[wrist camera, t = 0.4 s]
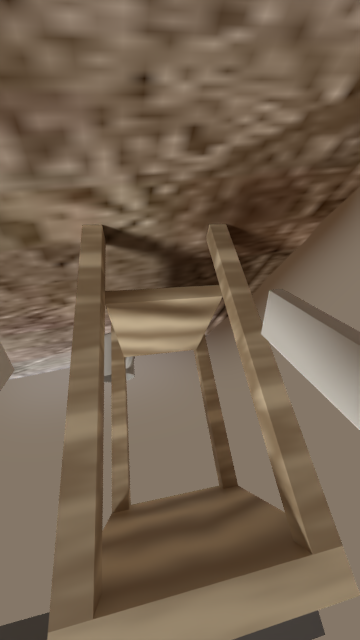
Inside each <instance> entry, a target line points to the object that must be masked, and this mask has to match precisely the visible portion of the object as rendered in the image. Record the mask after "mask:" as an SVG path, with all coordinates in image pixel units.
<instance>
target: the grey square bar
mask: <svg viewBox="0 0 360 640" xmlns="http://www.w3.org/2000/svg"><path fill="white" fill-rule="evenodd" d="M49 613H50V612H49ZM49 613H45V614H42V615H38V616H35V617H31V618H28V619H24V620H20V621H17V622H13V623H10V624H6V625H3V626H0V640H47V637H48V625H49ZM323 635H325V633H324V629H323V626H322V622H321V619H320V616H319V612H318V610H317V611H314V612H311V613H308V614H305V615H302V616H300V617H297V618H294V619H291V620H288V621H285V622H282V623H279V624H276V625H273V626H271V627H268V628H265V629H262V630H259V631H256V632H253V633H250V634H247V635H244V636H241V637H239V638H236V639H233V640H312V639H315V638H317V637H320V636H323Z"/></svg>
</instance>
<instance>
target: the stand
mask: <svg viewBox="0 0 360 640" xmlns="http://www.w3.org/2000/svg"><path fill="white" fill-rule="evenodd" d="M206 240H207V243H208V247H209V250H210V254H211V257H212V261H213V264H214V268H215V271H216V275H217V278H218V281H219V285H209V286H191V287H173V288H156V289H138V290H120V291H105V248H106V240H105V235H104V231H103V227H102V225H82V234H81V246H80V258H79V269H78V281H77V293H76V305H75V317H74V329H73V341H72V352H71V364H70V376H69V389H68V400H67V412H66V424H65V436H64V447H63V460H62V472H61V484H60V495H59V507H58V518H57V530H56V542H55V554H54V566H53V578H52V590H51V602H50V613H49V625H48V637H47V640H233V639H236V638H239V637H241V636H244V635H247V634H250V633H253V632H256V631H259V630H262V629H265V628H268V627H271V626H273V625H276V624H279V623H282V622H285V621H288V620H291V619H294V618H297V617H300V616H302V615H305V614H308V613H311V612H314V611H317V610H320V609H323V608H326V607H329V606H331V605H334V604H337V603H340V602H343V601H346V600H349V599H352V598H355V597H358V596H360V592H359V589H358V587H357V584H356V581H355V578H354V575H353V573H352V570H351V567H350V564H349V562H348V559H347V556H346V553H345V551H344V548H343V545H342V542H341V540H340V537H339V534H338V531H337V529H336V526H335V523H334V520H333V518H332V515H331V512H330V509H329V507H328V504H327V501H326V498H325V495H324V493H323V490H322V487H321V485H320V482H319V479H318V476H317V473H316V471H315V468H314V465H313V463H312V460H311V457H310V454H309V452H308V449H307V446H306V443H305V440H304V438H303V435H302V432H301V430H300V427H299V424H298V421H297V418H296V416H295V413H294V410H293V407H292V405H291V402H290V399H289V396H288V394H287V391H286V388H285V385H284V383H283V380H282V377H281V375H280V372H279V369H278V366H277V363H276V361H275V358H274V355H273V352H272V350H271V347H270V344H269V341H268V340H267V339H265V338H264V337H263V336H262V335H261V331H262V326H263V325H262V322H261V320H260V316H259V314H258V311H257V308H256V306H255V303H254V300H253V297H252V294H251V292H250V289H249V286H248V283H247V281H246V278H245V275H244V272H243V270H242V267H241V264H240V261H239V259H238V256H237V253H236V250H235V248H234V245H233V242H232V239H231V237H230V234H229V231H228V228H227V226H226V224H210V225H209V229H208V232H207V236H206ZM222 297H223V299H224V302H225V306H226V309H227V313H228V316H229V320H230V323H231V327H232V330H233V333H234V337H235V340H236V344H237V347H238V351H239V354H240V358H241V361H242V365H243V368H244V372H245V375H246V379H247V382H248V385H249V389H250V392H251V396H252V399H253V403H254V406H255V410H256V413H257V417H258V420H259V424H260V427H261V431H262V434H263V437H264V441H265V444H266V448H267V451H268V455H269V458H270V462H271V465H272V469H273V472H274V476H275V479H276V483H277V486H278V489H279V493H280V497H281V500H282V503H283V507H284V510H285V512H283V511H281V510H280V509H278V508H276V507H274V506H273V505H271V504H269V503H267V502H266V501H264V500H262V499H260V498H259V497H257V496H255V495H253V494H252V493H250V492H248V491H246V490H245V489H243V488H241V487H240V486H238V484H237V479H236V475H235V470H234V466H233V461H232V456H231V452H230V448H229V443H228V438H227V434H226V430H225V425H224V420H223V416H222V412H221V407H220V402H219V398H218V393H217V389H216V384H215V379H214V375H213V370H212V366H211V361H210V357H209V353H208V348H207V343H206V339H205V334H204V333H205V331H206V329H207V327H208V325H209V323H210V321H211V319H212V317H213V315H214V313H215V311H216V309H217V307H218V305H219V303H220V301H221V299H222ZM105 306H106V309H107V311H108V314H109V317H110V320H111V383H112V514H111V516H110V518H109V520H108V522H107V524H106V526H105V527H104V529H103V531H102V512H103V511H102V508H103V507H102V506H103V505H102V504H103V422H104V419H103V418H104V417H103V416H104V336H105ZM188 350H194V354H195V359H196V365H197V370H198V375H199V380H200V386H201V391H202V396H203V401H204V407H205V412H206V417H207V423H208V428H209V433H210V439H211V444H212V449H213V455H214V459H215V465H216V471H217V475H218V481H219V486H216V487H211V488H207V489H202V490H197V491H193V492H188V493H183V494H179V495H174V496H170V497H165V498H160V499H156V500H152V501H147V502H142V503H137V504H133V505H131V500H130V471H129V445H128V444H129V443H128V415H127V387H126V358H125V357H131V356H139V355H149V354H159V353H169V352H178V351H188Z"/></svg>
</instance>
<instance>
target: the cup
mask: <svg viewBox="0 0 360 640" xmlns="http://www.w3.org/2000/svg"><path fill="white" fill-rule="evenodd" d="M125 358H126V381H127V380H130V379H132V378H134V377H135V376H134V375H135V374H134V358H135V356H131V357H125ZM104 382H111V333H108V334H105V336H104Z"/></svg>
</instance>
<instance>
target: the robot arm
mask: <svg viewBox="0 0 360 640" xmlns="http://www.w3.org/2000/svg"><path fill="white" fill-rule="evenodd" d="M261 335H262V336H263V337H264V338H265V339H267V340H268V341H269V342H270V343H271V344H272V345H273V346H274V347H275V348H276V349H277V350H278V351H279V352H280V353H281V354H282V355H283V356H284V357H285V358H286V359H287V360H288V361H289V362H290V363H291V364H292V365H293V366H294V367H295V368H296V369H297V370H298V371H299V372H301V374H302V375H303V376H304V377H305V378H307V379H308V380H309V381H310V382H311V383H312V384H313V385H314V386H315V387H316V388H317V389H318V390H319V391H320V392H321V393H322V394H323V395H324V396H325V397H326V398H327V399H328V400H329V401H330V402H331V403H332V404H333V405H334V406H335V407H336V408H337V409H338V410H339V411H340V412H341V413H343V415H344V416H345V417H347V418H348V419H349V420H350V421H351V422H352V423H353V424H354V425H355V426H356V427H357V428H358V429H359V430H360V332H359V331H357V330H355V329H354V328H352V327H350V326H348V325H347V324H345V323H343V322H341V321H339V320H337V319H336V318H334V317H332V316H330V315H328V314H327V313H325V312H323V311H321V310H319V309H318V308H316V307H314V306H312V305H310V304H309V303H307V302H305V301H303V300H301V299H300V298H298V297H296V296H294V295H292V294H291V293H289V292H287V291H285V290H283V289H276V290H269V294H268V299H267V305H266V310H265V315H264V320H263V326H262V331H261ZM13 371H14V368H13V366H12V364H11V362H10V360H9V358H8V356H7V354H6V352H5V350H4V348H3V346H2V344H1V342H0V391H1V389H2V388H3V386H4V385H5V383H6V382H7V380H8V379H9V377H10V376H11V374H12V373H13Z"/></svg>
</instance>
